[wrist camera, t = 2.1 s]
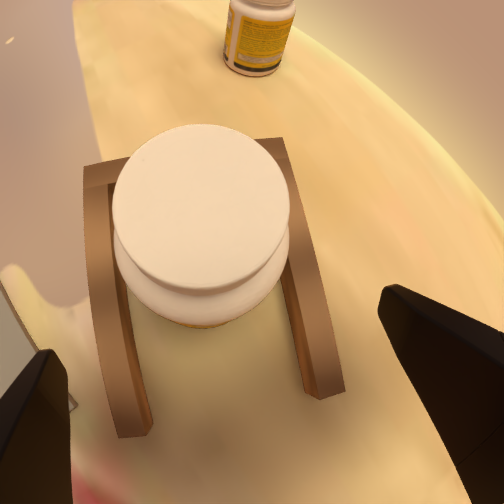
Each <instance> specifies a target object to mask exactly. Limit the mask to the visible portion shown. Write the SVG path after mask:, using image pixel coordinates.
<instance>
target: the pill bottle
mask: <svg viewBox="0 0 504 504" xmlns="http://www.w3.org/2000/svg"><path fill="white" fill-rule="evenodd" d="M289 213H290V201H289V192H288V188H287V183H286V181H285V178H284V176H283V174H282V172H281V170H280V168H279V166H278V164H277V163H276V161H275V160H274V159H273V157H272V156H271V155H270V154H269V153H268V152H267V151H266V150H265V149H264V148H263V147H262V146H261V145H260V144H258V143H257V142H256V141H255V140H253V139H252V138H250V137H248V136H247V135H244V134H242V133H240V132H238V131H236V130H234V129H230V128H227V127H223V126H219V125H211V124H192V125H184V126H180V127H176V128H173V129H170V130H167V131H165V132H163V133H160V134H158V135H156V136H155V137H153V138H151V139H150V140H149V141H147V142H146V143H145V144H143V145H142V146H141V147H140V148H139V149H138V150H137V151H135V152H134V154H133V155H132V156H131V157H130V158H129V160H128V161H127V162H126V164H125V166H124V167H123V169H122V171H121V173H120V175H119V177H118V180H117V182H116V186H115V190H114V194H113V201H112V214H113V222H114V227H115V228H114V251H115V257H116V261H117V265H118V267H119V270H120V272H121V275H122V277H123V279H124V281H125V282H126V284H127V286H128V287H129V288H130V290H131V291H132V292H133V294H134V295H135V296H136V297H137V298H138V299H139V300H140V301H141V302H142V303H143V304H144V305H145V306H147V307H148V308H149V309H151V310H152V311H153V312H155V313H157V314H158V315H160V316H162V317H164V318H166V319H169V320H171V321H173V322H176V323H178V324H181V325H184V326H188V327H192V328H211V327H216V326H220V325H223V324H225V323H227V322H229V321H231V320H233V319H235V318H238V317H240V316H241V315H243V314H245V313H247V312H248V311H250V310H251V309H253V308H254V307H255V306H257V305H258V304H259V303H260V302H261V301H262V300H263V299H264V298H265V297H266V296H267V295H268V294H269V293H270V291H271V290H272V289H273V287H274V286H275V285H276V283H277V281H278V280H279V278H280V276H281V274H282V272H283V269H284V266H285V263H286V260H287V256H288V250H289V227H288V221H289Z"/></svg>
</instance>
